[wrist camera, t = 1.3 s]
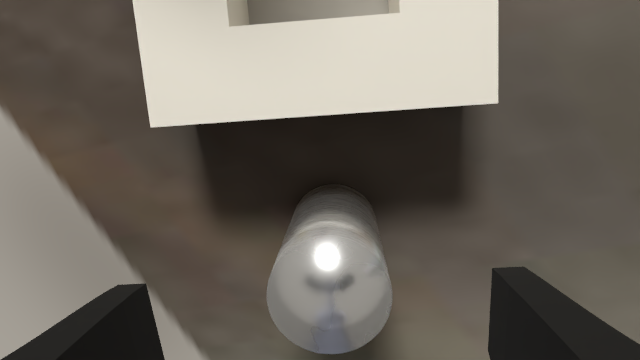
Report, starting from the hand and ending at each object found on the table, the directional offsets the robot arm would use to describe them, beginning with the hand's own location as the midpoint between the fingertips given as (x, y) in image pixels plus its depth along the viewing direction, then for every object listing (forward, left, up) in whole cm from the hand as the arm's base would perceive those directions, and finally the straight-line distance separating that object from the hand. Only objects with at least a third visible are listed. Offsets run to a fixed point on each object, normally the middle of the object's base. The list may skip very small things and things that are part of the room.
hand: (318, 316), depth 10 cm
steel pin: (-1, 0, -11) cm, 11 cm away
